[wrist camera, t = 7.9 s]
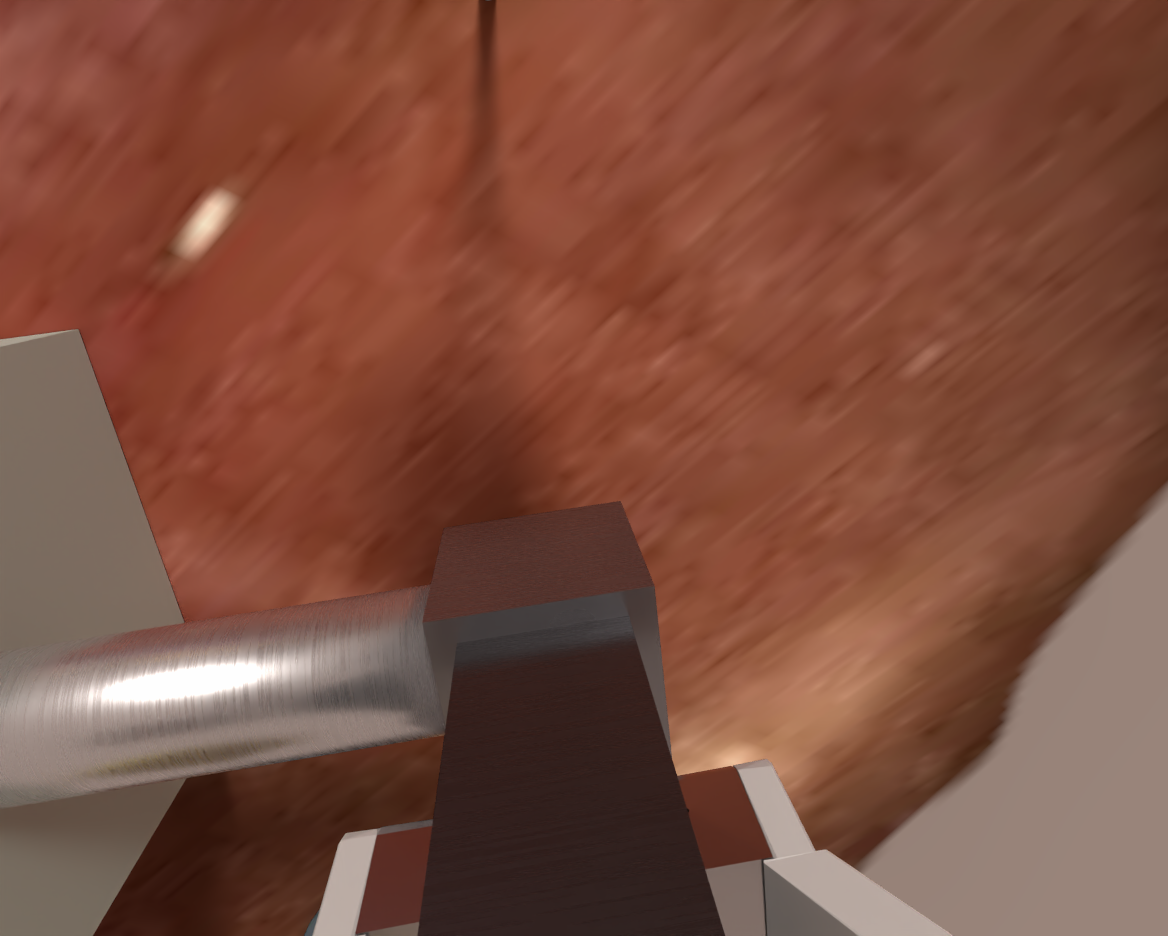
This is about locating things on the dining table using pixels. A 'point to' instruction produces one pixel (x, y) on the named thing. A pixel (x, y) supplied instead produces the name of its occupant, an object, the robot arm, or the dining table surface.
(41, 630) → the grey slotted block
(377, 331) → the dining table surface
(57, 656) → the hammer
